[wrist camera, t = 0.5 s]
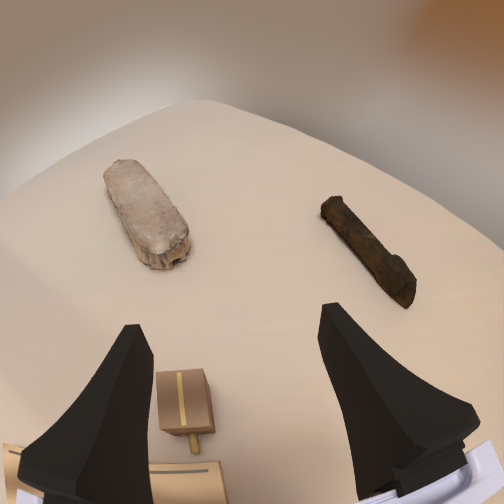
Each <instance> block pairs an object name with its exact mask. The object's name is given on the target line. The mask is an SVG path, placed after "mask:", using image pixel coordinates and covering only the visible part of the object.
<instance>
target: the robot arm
mask: <svg viewBox="0 0 504 504" xmlns="http://www.w3.org/2000/svg"><path fill="white" fill-rule="evenodd" d="M318 342H319V346H320V350H321V354H322V358H323V362H324V364H325V367H326V370H327V372H328V375H329V377H330V380H331V383H332V385H333V388H334V391H335V393H336V396H337V399H338V401H339V404H340V407H341V410H342V414H343V418H344V422H345V426H346V430H347V435H348V440H349V444H350V449H351V455H352V461H353V467H354V474H355V481H356V491H357V496H358V499H359V502H356V503H353V504H481V503H483V502H484V501H485V500H487V499H488V498H489V497H490V496H492V495H493V494H494V493H496V492H497V491H498V490H500V489H501V488H502V487H503V486H504V471H503V468H502V466H501V463H500V461H499V458H498V456H497V454H496V451H495V449H494V447H493V444H492V442H491V440H490V439H487V440H486V441H484V442H483V443H481V444H480V445H478V446H476V447H475V448H473V449H471V450H470V451H468V452H467V453H465V454H464V452H463V450H462V449H463V448H465V444H464V442H463V440H464V439H465V438H466V437H467V436H469V435H470V434H471V433H472V432H473V431H475V430H476V429H477V428H478V427H479V425H480V420H479V418H478V416H477V414H476V411H475V410H474V408H473V406H472V405H471V404H469V403H467V402H464V401H462V400H460V399H457V398H455V397H453V396H451V395H449V394H447V393H445V392H443V391H441V390H439V389H437V388H435V387H434V386H432V385H430V384H429V383H427V382H426V381H424V380H422V379H421V378H419V377H417V376H416V375H415V374H413V373H412V372H410V371H409V370H408V369H406V368H405V367H404V366H402V365H401V364H400V363H398V362H397V361H396V360H395V359H394V358H392V357H391V356H390V355H389V354H388V353H387V352H386V351H384V350H383V349H382V348H381V347H380V346H379V345H378V344H377V343H376V342H375V341H374V340H373V339H372V338H371V337H370V336H369V335H368V334H367V333H366V332H365V331H364V330H363V329H362V328H361V327H360V326H359V325H358V324H357V323H356V322H355V321H354V320H353V319H352V318H351V316H350V315H349V314H348V313H347V312H346V311H345V310H344V309H343V308H342V307H341V305H340V304H339V303H337V302H335V303H329V304H323V305H322V312H321V319H320V325H319V332H318ZM153 370H154V355H153V353H152V351H151V349H150V347H149V345H148V342H147V340H146V338H145V336H144V334H143V331H142V329H141V327H140V325H139V324H133V325H125V326H124V328H123V329H122V331H121V332H120V334H119V336H118V337H117V339H116V341H115V342H114V344H113V346H112V347H111V349H110V351H109V352H108V354H107V355H106V357H105V359H104V360H103V362H102V363H101V365H100V367H99V368H98V370H97V371H96V373H95V374H94V376H93V377H92V379H91V380H90V382H89V383H88V384H87V386H86V387H85V389H84V390H83V391H82V393H81V394H80V395H79V397H78V398H77V399H76V400H75V402H74V403H73V404H72V405H71V406H70V407H69V409H68V410H67V411H66V412H65V413H64V414H63V415H62V416H61V417H60V419H59V420H58V421H57V422H56V423H55V424H54V425H53V426H51V427H50V428H49V429H48V430H47V431H46V432H45V433H44V434H43V435H42V436H40V437H39V438H38V439H37V440H36V441H34V442H33V443H32V444H30V445H29V446H28V447H26V448H25V449H24V450H22V452H21V456H20V461H19V467H18V473H17V478H18V479H19V480H20V481H21V482H23V483H25V484H27V485H29V486H31V487H33V488H35V489H37V490H39V491H41V492H43V493H44V498H42V497H40V496H37V495H35V494H32V493H29V492H27V491H24V490H22V489H17V496H16V504H154V501H153V496H152V490H151V482H150V474H149V462H148V440H147V431H148V418H149V409H150V401H151V393H152V385H153ZM379 494H380V495H379ZM376 495H378V496H376ZM373 496H375V497H373ZM370 497H372V498H370ZM367 498H369V499H367ZM364 499H366V500H364ZM361 500H363V501H361Z"/></svg>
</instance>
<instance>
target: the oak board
mask: <svg viewBox="0 0 504 504" xmlns="http://www.w3.org/2000/svg"><path fill="white" fill-rule="evenodd" d="M22 450H24V448H20V447H16V446H12V445H9V444H5V443H3V457H4V473H5V484H6V493H7V501H8V504H16V496H17V489H22V490H24V491H27V492H29V493H32V494H35V495H37V496H40V497H42V498H44V493H43V492H41V491H39V490H37V489H35V488H33V487H31V486H29V485H27V484H25V483H23V482H21V481H20V480H19V479H18V478H17V473H18V467H19V461H20V456H21V452H22ZM149 474H150V482H151V490H152V496H153V501H154V504H228V502H227V497H226V492H225V486H224V481H223V475H222V470H221V464H220V461H217V462H205V463H189V464H149Z"/></svg>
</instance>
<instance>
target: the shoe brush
mask: <svg viewBox="0 0 504 504" xmlns="http://www.w3.org/2000/svg"><path fill="white" fill-rule="evenodd" d="M103 178H104V181H105V183H106V188H107V194H108V196H109V197H110V198H112V200H113V202H114V205H115V207H117V208H118V214H119V216H120V218H121V219H122V221H123V223H124V226H125V228H126V229H127V231H128V234H129V235H130V238H131V240H132V241H133V245H134V247H135V250H136V253H137V254H138V257H139V259H140V260H141V261H142V262H144V263H145V264H148V265H151V269H153V268H154V269H161V270H167V269H172V268H173V262H172V261H174V260H175V259H178V258H180V259H179V260H178V261H184V260H186V256H185V255H186V253H187V252H188V251H189V247H190V242H189V240H188V234H189V229H188V225H187V223H186V221H185V220H184V218H183V216H182V215H181V213H180V212H179V211H178V209H177V208H176V207H175V205H174V204H173V203H172V202H171V200H170V199H169V197H168V196H167V195H166V194H165V192H164V191H163V190H162V188H161V187H160V186H159V185H158V183H157V182H156V181H155V179H154V178H153V177H152V176H151V175H150V173H149V172H148V171H147V170H146V169H145V168H144V167H143V166H142V165H141V164H140V163H139V162H138V161H136V160H133V159H124V160H117V161H115V162H114V163H113V164H112V165H111V166H109V167H108V168H107V169H106V171H105V172H104V175H103Z"/></svg>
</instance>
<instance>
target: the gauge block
mask: <svg viewBox="0 0 504 504" xmlns="http://www.w3.org/2000/svg"><path fill="white" fill-rule="evenodd" d="M156 385H157V401H158V414H159V426H160V429H161V430H163V431H165V432H167V433H170V434H172V435H174V436H182V435H189V442H190V449H191V454H193V453H200V450H199V443H198V436H197V435H198V434H210V433H215V426H214V419H213V412H212V405H211V398H210V390H209V385H208V382H207V379H206V377H205V374H204V371H203V368H202V369H191V370H179V371H164V372H156Z"/></svg>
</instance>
